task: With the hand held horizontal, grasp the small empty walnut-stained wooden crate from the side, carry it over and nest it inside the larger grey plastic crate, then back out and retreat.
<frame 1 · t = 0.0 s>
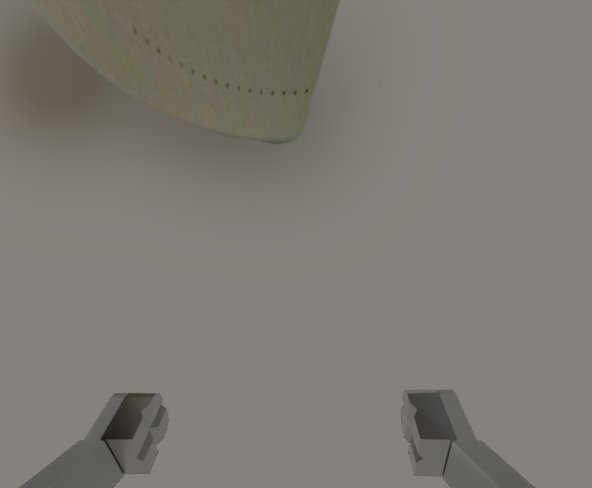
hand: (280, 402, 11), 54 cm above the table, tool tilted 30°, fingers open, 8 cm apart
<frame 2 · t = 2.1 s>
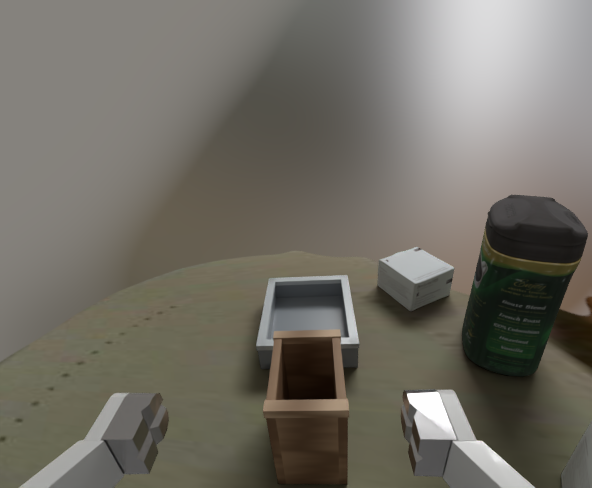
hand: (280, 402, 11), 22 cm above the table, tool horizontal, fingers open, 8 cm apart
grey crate: (309, 328, 45), on the table
coffee jar: (496, 348, 40), on the table
walnut crate: (312, 438, 32), on the table
small box 2: (412, 291, 52), on the table
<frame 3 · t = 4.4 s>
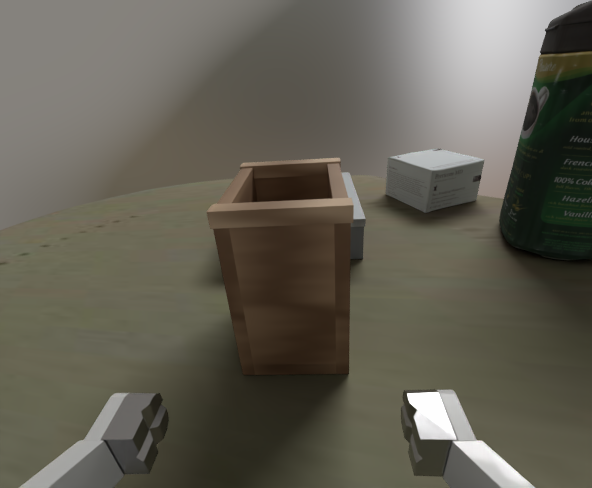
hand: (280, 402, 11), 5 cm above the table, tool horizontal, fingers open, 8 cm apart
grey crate: (300, 228, 36), on the table
coffee jar: (546, 239, 30), on the table
walnut crate: (298, 325, 22), on the table
small box 2: (428, 199, 42), on the table
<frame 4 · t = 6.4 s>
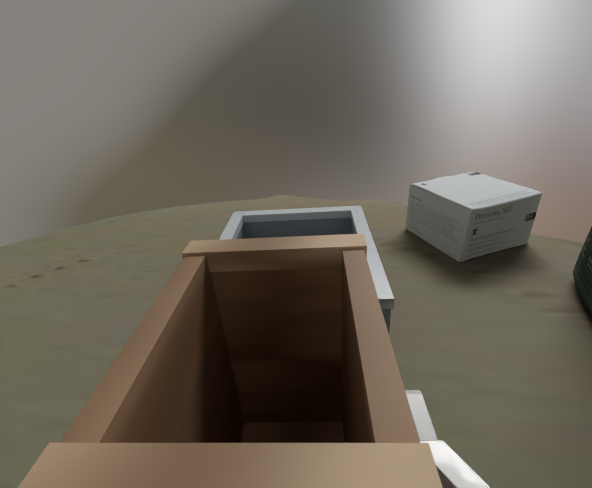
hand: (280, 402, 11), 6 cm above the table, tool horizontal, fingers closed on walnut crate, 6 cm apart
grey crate: (296, 286, 26), on the table
small box 2: (461, 238, 32), on the table
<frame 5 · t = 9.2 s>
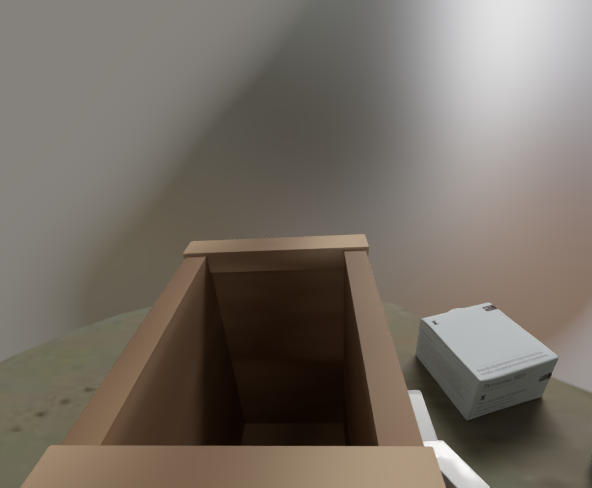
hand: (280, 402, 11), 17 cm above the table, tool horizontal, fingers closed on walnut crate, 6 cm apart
small box 2: (473, 376, 31), on the table
when the fingers open (9 cm above the table, at t = 11.8 s): walnut crate drops 3 cm, resting on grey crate.
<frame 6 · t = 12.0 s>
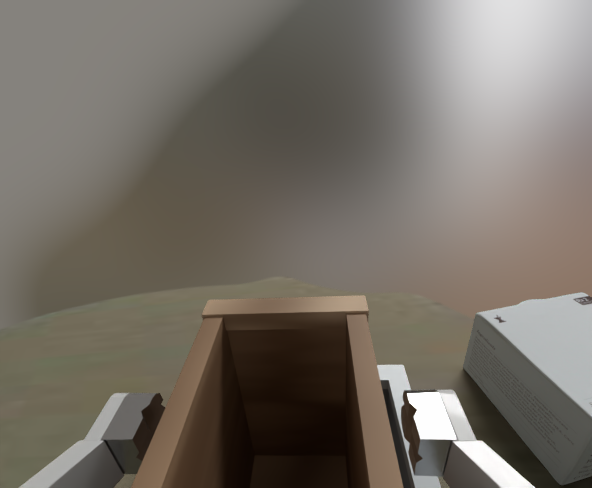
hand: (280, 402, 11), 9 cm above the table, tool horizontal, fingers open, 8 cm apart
small box 2: (557, 406, 20), on the table
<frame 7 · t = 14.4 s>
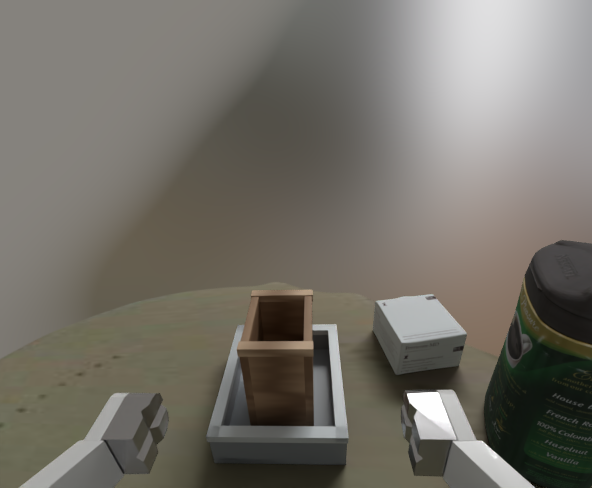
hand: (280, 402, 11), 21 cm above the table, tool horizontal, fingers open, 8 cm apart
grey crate: (284, 396, 35), on the table
coffee jar: (530, 438, 30), on the table
walnut crate: (285, 391, 35), point 1 cm above the table, touching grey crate
small box 2: (412, 349, 41), on the table
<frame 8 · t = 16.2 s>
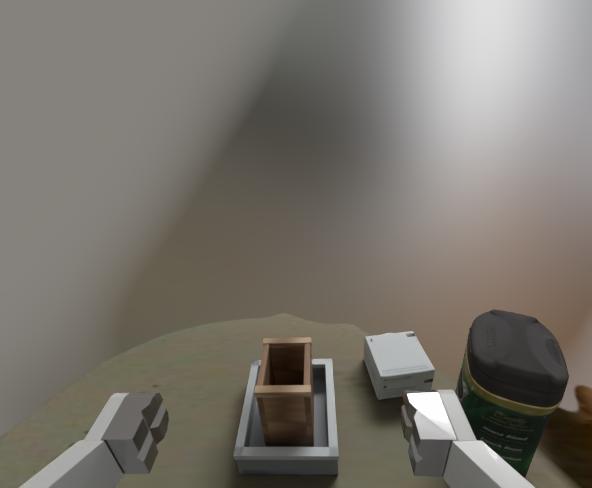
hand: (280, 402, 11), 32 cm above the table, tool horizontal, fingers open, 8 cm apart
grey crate: (291, 419, 45), on the table
coffee jar: (480, 453, 39), on the table
walnut crate: (291, 416, 44), point 1 cm above the table, touching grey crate
small box 2: (394, 376, 50), on the table
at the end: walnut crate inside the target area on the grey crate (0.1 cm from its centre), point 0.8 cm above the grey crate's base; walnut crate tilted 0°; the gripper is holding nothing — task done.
